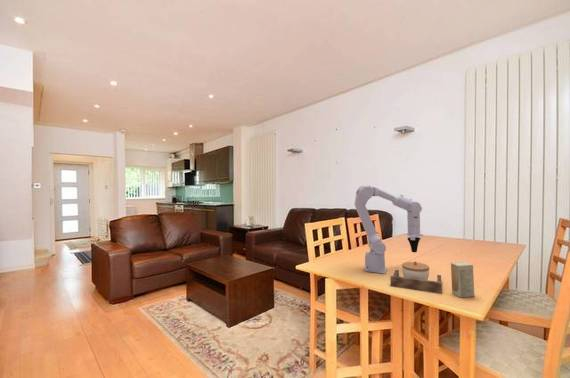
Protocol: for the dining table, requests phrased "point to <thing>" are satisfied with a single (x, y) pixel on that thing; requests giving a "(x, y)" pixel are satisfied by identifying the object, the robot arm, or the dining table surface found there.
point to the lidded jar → (415, 270)
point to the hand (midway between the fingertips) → (414, 252)
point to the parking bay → (416, 283)
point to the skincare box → (462, 279)
